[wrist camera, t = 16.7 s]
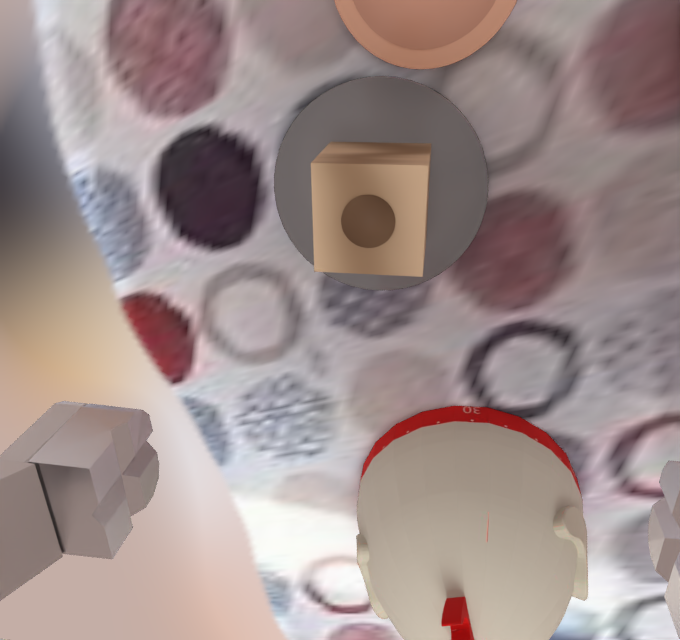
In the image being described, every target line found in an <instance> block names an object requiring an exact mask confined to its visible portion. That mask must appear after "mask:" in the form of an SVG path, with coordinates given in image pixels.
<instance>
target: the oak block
mask: <svg viewBox="0 0 680 640" xmlns="http://www.w3.org/2000/svg"><path fill="white" fill-rule="evenodd" d="M430 161H431V143H378V142H330V143H329V144H328V145H327V146H326V147H325V148H324V149H323V150H322V152H321V153H320V154H319V155H318V156H317V157H316V158H315V159H314V160H313V161H312V162H311V185H312V215H313V246H314V272H334V273H355V274H375V275H395V276H416V277H423V268H424V258H425V248H426V236H427V217H428V198H429V180H430Z"/></svg>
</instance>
